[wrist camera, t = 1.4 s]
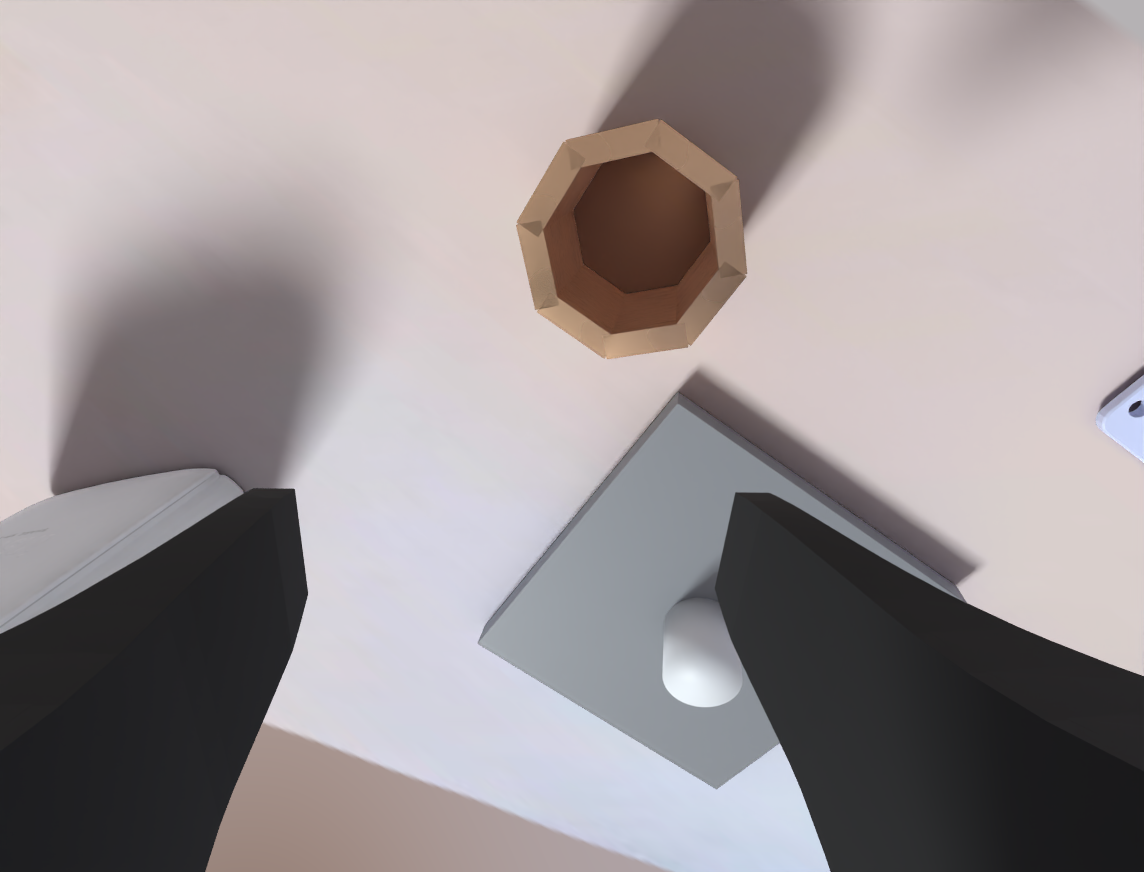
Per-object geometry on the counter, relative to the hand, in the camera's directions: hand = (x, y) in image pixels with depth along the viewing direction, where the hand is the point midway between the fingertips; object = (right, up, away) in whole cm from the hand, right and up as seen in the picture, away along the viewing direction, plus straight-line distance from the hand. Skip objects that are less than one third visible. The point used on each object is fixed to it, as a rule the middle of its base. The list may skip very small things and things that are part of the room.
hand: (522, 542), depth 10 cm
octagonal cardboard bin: (+3, +8, +8) cm, 12 cm away
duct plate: (+6, -5, +13) cm, 15 cm away
